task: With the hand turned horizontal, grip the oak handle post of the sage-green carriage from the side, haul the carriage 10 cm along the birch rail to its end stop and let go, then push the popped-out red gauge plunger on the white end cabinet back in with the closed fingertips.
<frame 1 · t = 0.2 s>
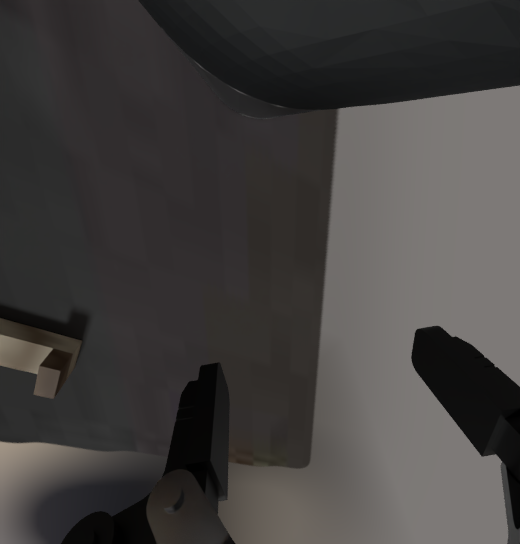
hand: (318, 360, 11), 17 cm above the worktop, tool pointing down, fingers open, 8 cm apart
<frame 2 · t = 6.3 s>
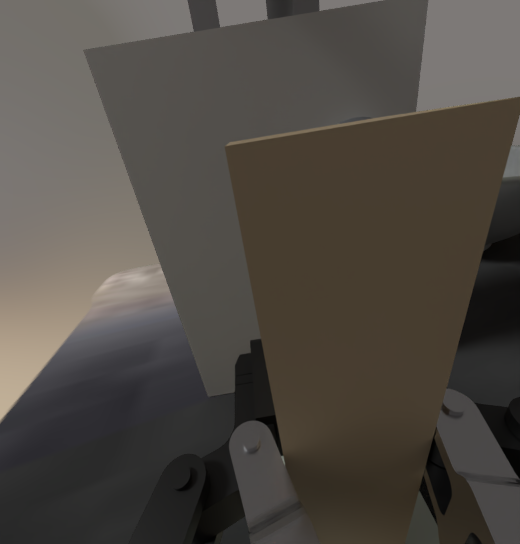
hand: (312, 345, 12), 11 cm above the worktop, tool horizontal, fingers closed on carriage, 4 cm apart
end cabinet: (270, 194, 19), on the worktop
decorative bowl: (441, 240, 43), on the worktop
carriage: (334, 420, 10), point 10 cm above the worktop, slide at 0.0 cm, touching gripper
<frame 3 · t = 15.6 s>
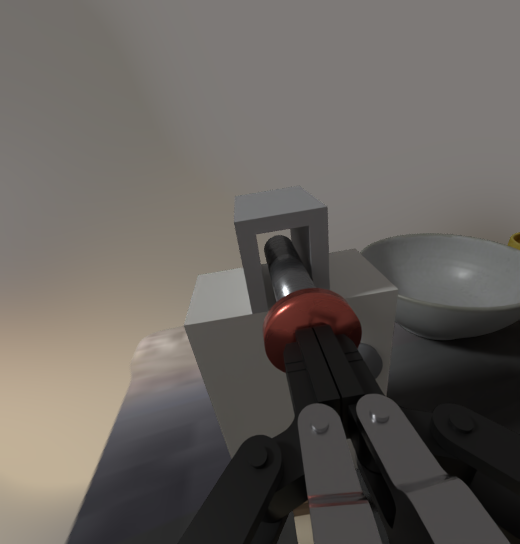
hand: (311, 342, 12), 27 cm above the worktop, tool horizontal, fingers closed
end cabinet: (292, 355, 26), on the worktop
gauge plunger: (291, 281, 17), point 27 cm above the worktop, slide at 3.9 cm, touching gripper
decorative bowl: (429, 318, 50), on the worktop
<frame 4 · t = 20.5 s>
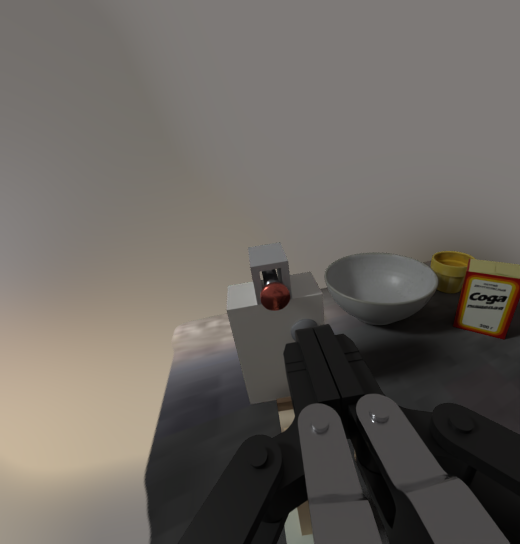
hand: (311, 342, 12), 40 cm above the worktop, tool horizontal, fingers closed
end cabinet: (277, 327, 50), on the worktop
plant pot: (447, 288, 79), on the worktop
gauge plunger: (271, 280, 43), point 27 cm above the worktop, slide at 0.5 cm
decorative bowl: (374, 311, 74), on the worktop
rail: (299, 448, 45), on the worktop
baking soda box: (478, 325, 64), on the worktop
carriage: (310, 488, 32), point 10 cm above the worktop, slide at 9.9 cm
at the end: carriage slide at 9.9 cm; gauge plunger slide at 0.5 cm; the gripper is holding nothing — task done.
